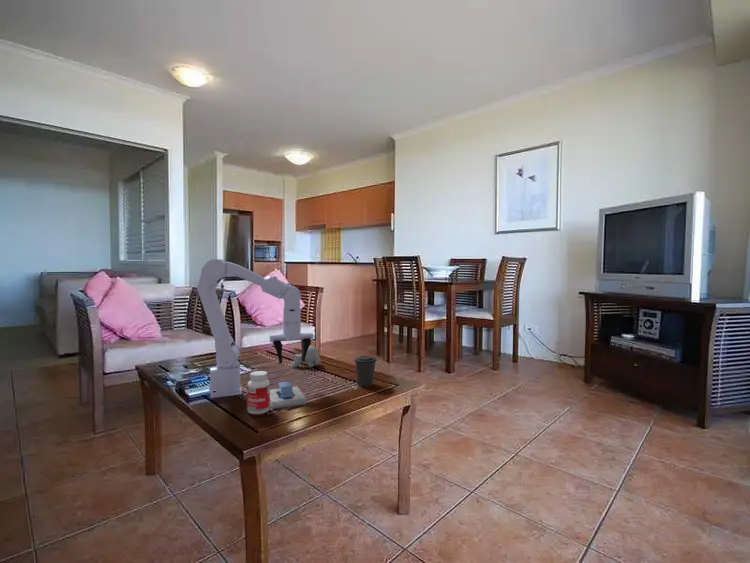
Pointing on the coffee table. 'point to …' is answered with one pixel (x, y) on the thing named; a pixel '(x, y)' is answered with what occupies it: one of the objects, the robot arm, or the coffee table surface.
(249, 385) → the pill bottle
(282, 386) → the block
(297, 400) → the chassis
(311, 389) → the coffee table surface
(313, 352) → the round bodied animal figurine
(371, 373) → the coffee cup
